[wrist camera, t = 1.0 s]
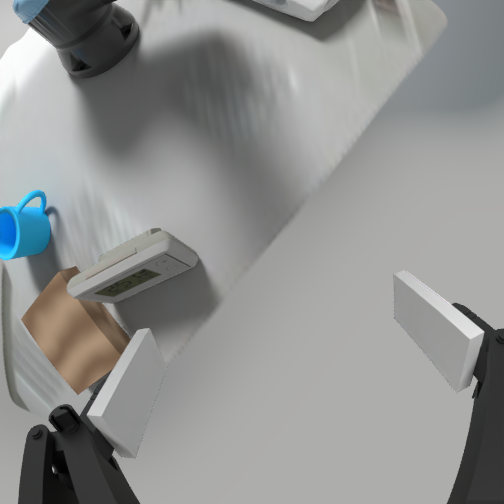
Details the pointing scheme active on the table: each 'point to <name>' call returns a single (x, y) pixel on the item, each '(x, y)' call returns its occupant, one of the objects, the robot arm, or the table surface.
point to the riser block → (75, 333)
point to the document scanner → (300, 7)
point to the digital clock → (133, 267)
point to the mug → (24, 228)
